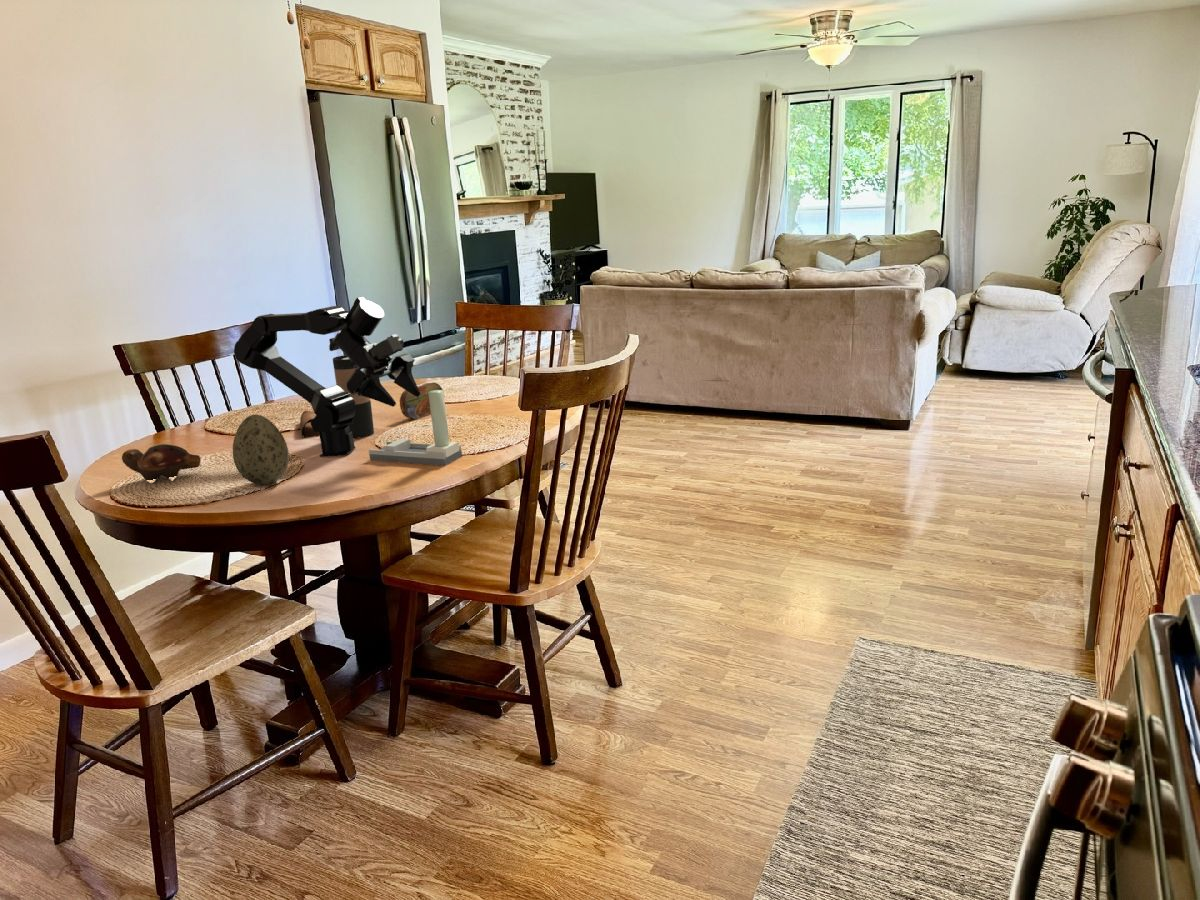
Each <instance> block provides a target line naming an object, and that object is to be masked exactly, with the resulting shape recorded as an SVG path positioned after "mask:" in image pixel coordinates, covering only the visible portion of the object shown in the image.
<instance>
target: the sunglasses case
mask: <svg viewBox="0 0 1200 900" xmlns="http://www.w3.org/2000/svg"><path fill="white" fill-rule="evenodd" d="M315 416H316V414H315V413H314V411H312V410H304V411H303V412H302V414H301V415H300V419H299V421H300V422H299V423H300V425H299V426H300V433H301V437H303V438H304V439H306V438H307V439H308V438H312V437H318V436H319V437H320V435H319V432H314V430H313V428H312V426H311V422H312V421H313V419H314V418H315Z"/></svg>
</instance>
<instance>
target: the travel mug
mask: <svg viewBox="0 0 1200 900" xmlns="http://www.w3.org/2000/svg"><path fill="white" fill-rule="evenodd" d="M351 362H352V361H351V360H350V359H349V358H348V357H347V356H346V355H345V354H344V355H338V356H335V357H333V358H332V364H333V370H334V378H335V379H334V380H335V385H337V386H339V387H341V388H342V389H343V390H344V391H345V392H347V393H350V392H349V391H348V390H347V386H346V383H347V381H348V380H349V378H350V377H351V375H352V374H353V372H354V371H355V369H358V367H354V368H352V367H351V366H350V363H351ZM357 394H358V393H357ZM357 394H355V395H352V394H351V393H350V395H349V396H350V397H352V398H353V399H354V401H355V405H356V413H355V415H354V421H353V423H352V424H349V428H350V431H352V434H353V439H362V438H366V437H369V436H373V435H374V434H375V429H374V420H373V410H372V402H371V401H372V399H370V398H367V397H364V396H358V395H357Z"/></svg>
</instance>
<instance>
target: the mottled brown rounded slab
mask: <svg viewBox="0 0 1200 900" xmlns="http://www.w3.org/2000/svg"><path fill="white" fill-rule="evenodd" d="M417 387H418V389H419V391H420V393H421V394H420V396H419V397H416V396H415V395H413V394H411V393H409V392H408V391H406V390H405V389H404V390H403V392H402V393H401V395H400V398H399V407H400V410H401V414H402V415H403V416H404V417H405V418H408V419H413V420H414V419H415V420H419V419H423V418H424V417H428V416H430V415H431V410H430V402H429V394H428V392H430V391H434V390H443V387H442V386H441V385H440V384H439V383H437V382H433V381H432V382H425V383H422V384H419V385H417ZM443 393H444V391H443ZM444 394H445V393H444Z"/></svg>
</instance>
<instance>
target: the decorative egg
mask: <svg viewBox="0 0 1200 900" xmlns="http://www.w3.org/2000/svg"><path fill="white" fill-rule="evenodd" d="M288 447H289V446H288V444H287V441H286V439H285V437H284V436H283V434H282V433H281V431H280V429H279V428H278V427H277V426H276V425H275V424H274V423H273V422H272V421H271V420H270V419H268V418H267V417H265V416H263V415H260V414H251V415H248V416H247V417H245V419H243V420H242V421H241V423H240V424H239V426H238V428H237V430H236V431H235V435H234V439H233V444H232V458H233V462H234V466H235V468H236V470H237V471H238V473H239V474H240V475H241V477H243V478H244V479H245V480H247V481H249V482H250V483H252V484H254V485H259V484H267V485H270V484H269V483H271V484H273V483H275V482H277V481H279V479H281V478H282V477H283V475H284V474H285V472H286V470H287V468H288V465H289V462H290V461H289V460H290V454H289V452H290V451H289V448H288Z"/></svg>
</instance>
